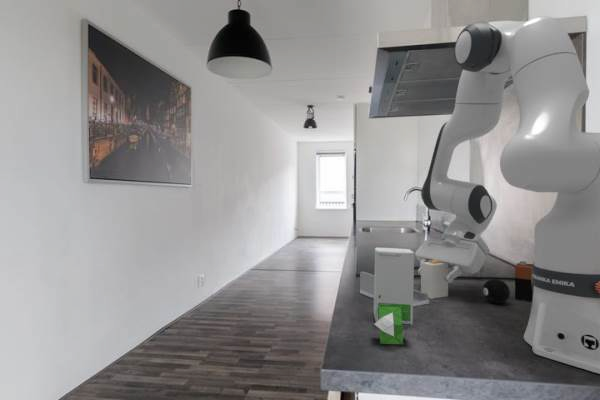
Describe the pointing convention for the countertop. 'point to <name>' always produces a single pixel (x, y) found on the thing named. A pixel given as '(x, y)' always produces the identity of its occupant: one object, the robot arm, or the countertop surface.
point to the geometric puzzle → (390, 325)
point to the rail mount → (368, 289)
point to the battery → (523, 281)
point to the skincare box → (394, 281)
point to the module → (434, 279)
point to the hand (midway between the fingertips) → (433, 277)
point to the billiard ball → (496, 291)
